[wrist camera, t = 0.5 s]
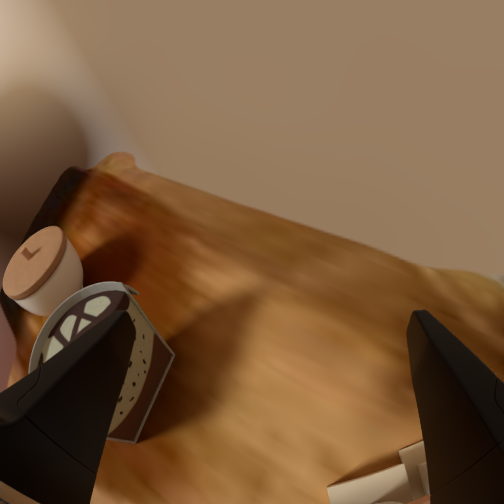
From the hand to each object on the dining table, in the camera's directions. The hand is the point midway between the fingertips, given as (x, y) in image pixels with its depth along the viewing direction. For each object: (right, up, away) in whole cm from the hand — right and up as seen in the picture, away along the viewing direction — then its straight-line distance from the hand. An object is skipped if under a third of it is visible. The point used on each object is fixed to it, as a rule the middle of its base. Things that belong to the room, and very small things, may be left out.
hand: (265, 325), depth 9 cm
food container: (-12, -10, +16) cm, 23 cm away
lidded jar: (-25, -4, +27) cm, 36 cm away
